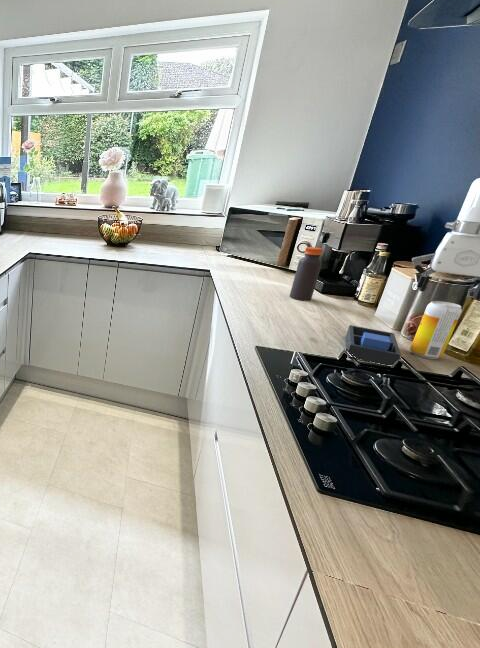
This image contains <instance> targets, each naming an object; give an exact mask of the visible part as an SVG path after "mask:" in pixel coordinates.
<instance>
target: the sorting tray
mask: <svg viewBox="0 0 480 648" xmlns="http://www.w3.org/2000/svg"><path fill="white" fill-rule="evenodd" d="M364 332H367V333H372V334H377V335H382V336H388V337H389V338H390V342H391V343H390V346H389V348H388V351H384V350H379V349H374V348H369V347H364V346H359V345H360V342H361V339H362V336H363V333H364ZM346 349H348V351H349V352H350V353H351V354H353V356H355V357H356V358H358V359H362V360H363V361H362V360H361V361H362V362H367V361H368V362H367V363H371V362H375V363H374V364H376V363H380V364H385V365H393V364H394V363H395V362H396V361H397V360H398V359H399V360H400V358H401V350H400V347H399V344H398V341H397V338H396V334H395V333H394V332H390V331H384V330H379V329H373V328H368V327H362V326H357V325H352V324H350V325H349V326H348V329H347V331H346V334H345V350H346ZM358 359H357V360H358ZM370 361H371V362H370ZM380 364H379V365H380ZM385 365H384V366H385Z"/></svg>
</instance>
